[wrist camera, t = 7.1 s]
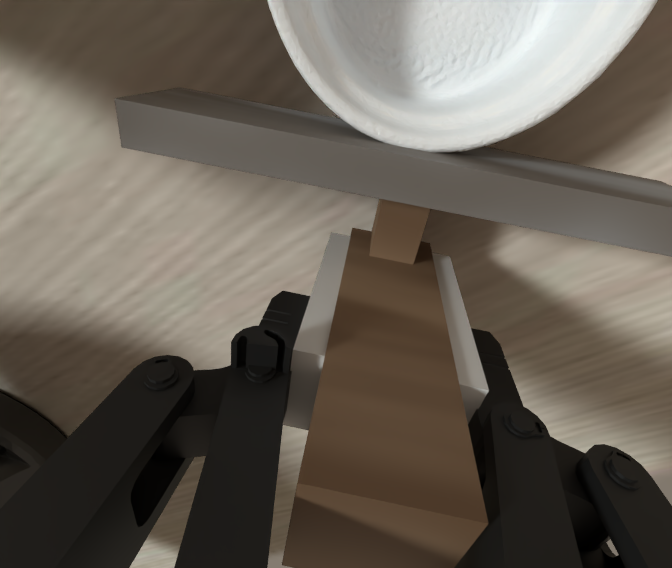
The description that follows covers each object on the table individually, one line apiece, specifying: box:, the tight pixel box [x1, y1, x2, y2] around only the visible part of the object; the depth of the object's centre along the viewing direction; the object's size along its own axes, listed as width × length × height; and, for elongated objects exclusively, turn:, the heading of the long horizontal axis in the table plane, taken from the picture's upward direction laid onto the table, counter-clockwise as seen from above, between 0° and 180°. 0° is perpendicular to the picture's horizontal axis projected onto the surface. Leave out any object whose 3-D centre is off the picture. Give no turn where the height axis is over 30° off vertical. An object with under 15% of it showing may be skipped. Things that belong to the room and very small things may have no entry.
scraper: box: [115, 88, 672, 568], centre depth 10 cm, size 7×16×10 cm, turn 81°
